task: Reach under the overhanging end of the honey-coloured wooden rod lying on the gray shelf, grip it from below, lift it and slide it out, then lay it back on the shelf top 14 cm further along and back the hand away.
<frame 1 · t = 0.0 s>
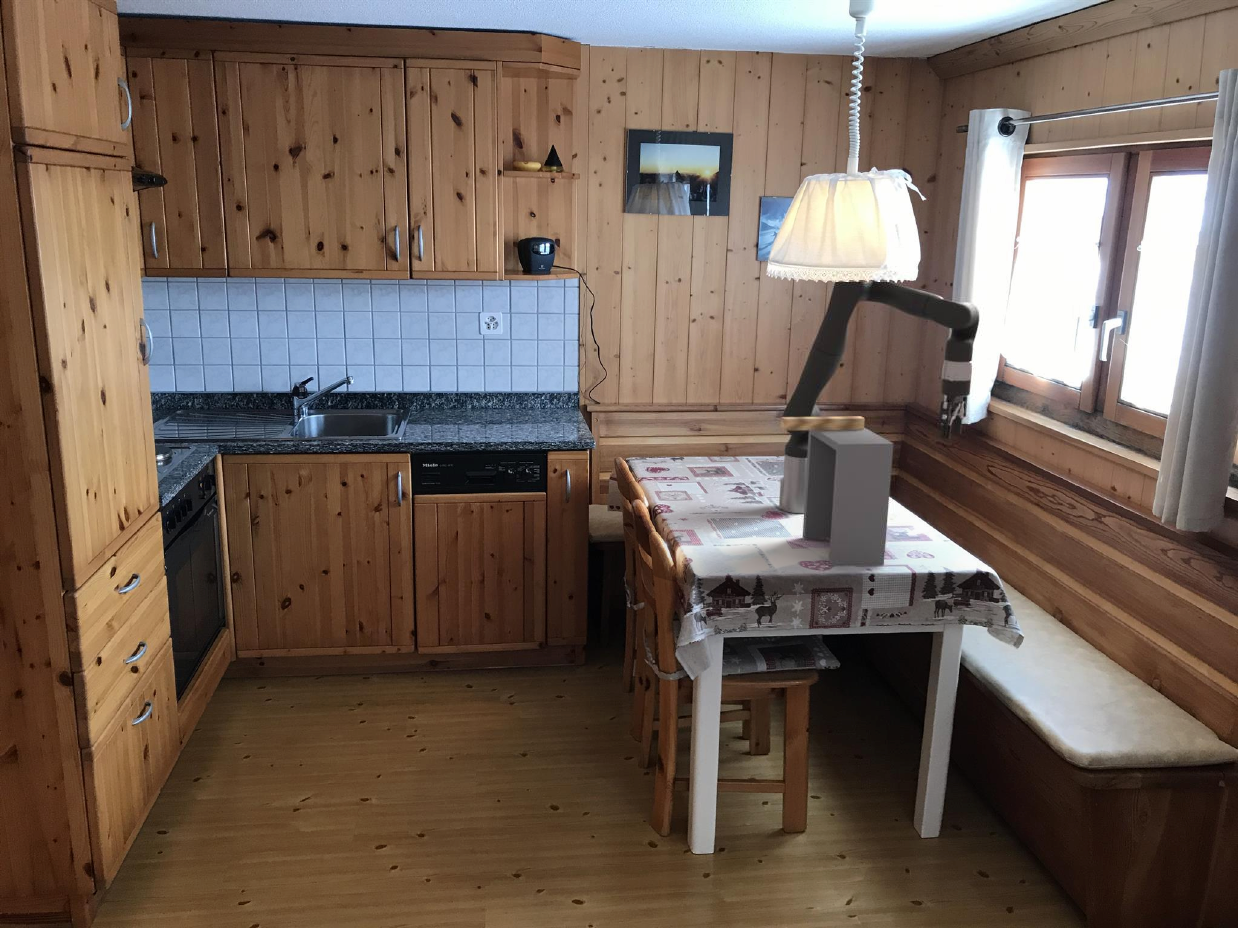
hand: (951, 436, 275), 29 cm above the table, tool pointing down, fingers open, 8 cm apart
wooden rod: (822, 428, 269), point 32 cm above the table, touching gray shelf
gray shelf: (841, 550, 270), on the table
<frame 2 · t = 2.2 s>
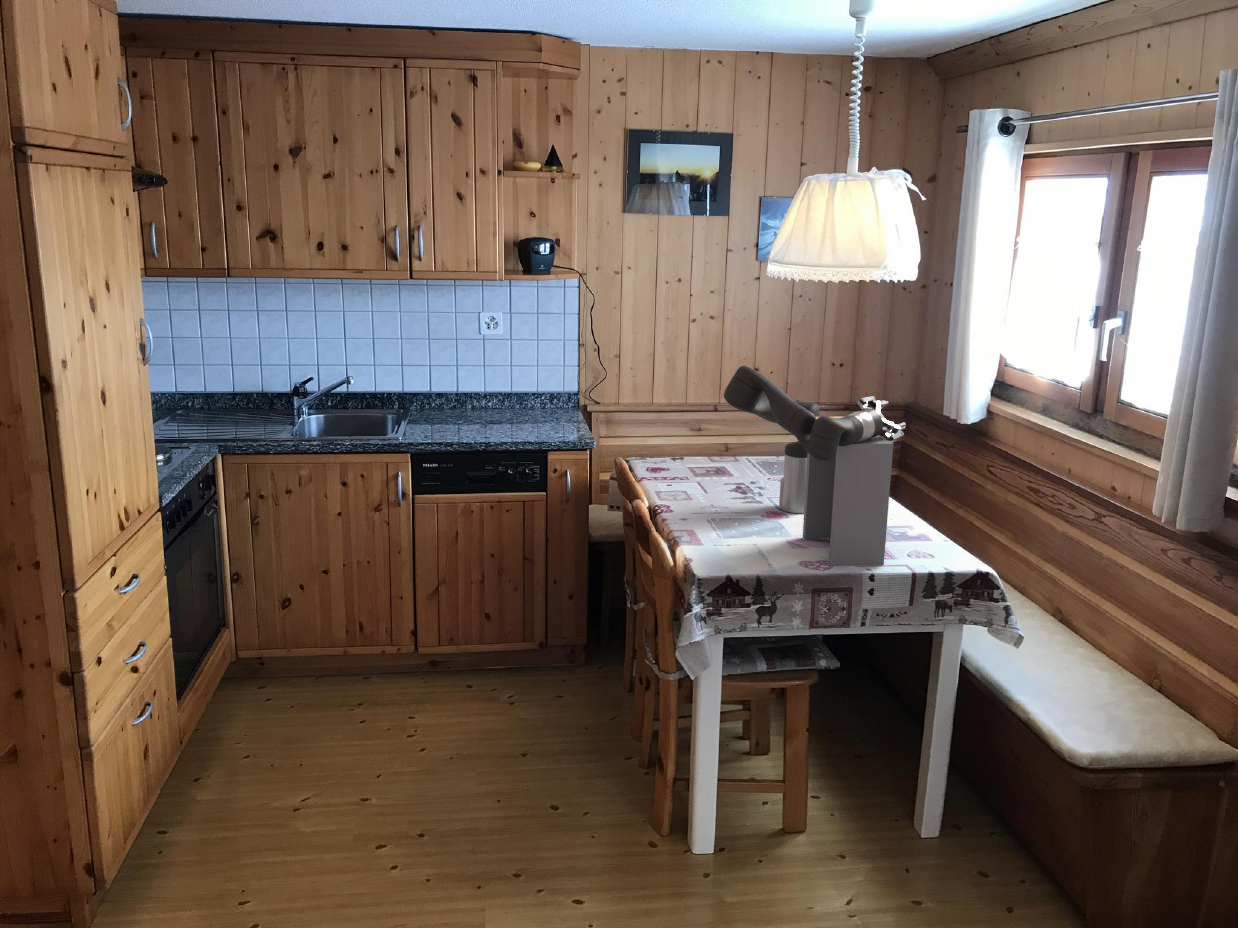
hand: (894, 414, 265), 37 cm above the table, tool horizontal, fingers open, 6 cm apart
nothing on the table moved.
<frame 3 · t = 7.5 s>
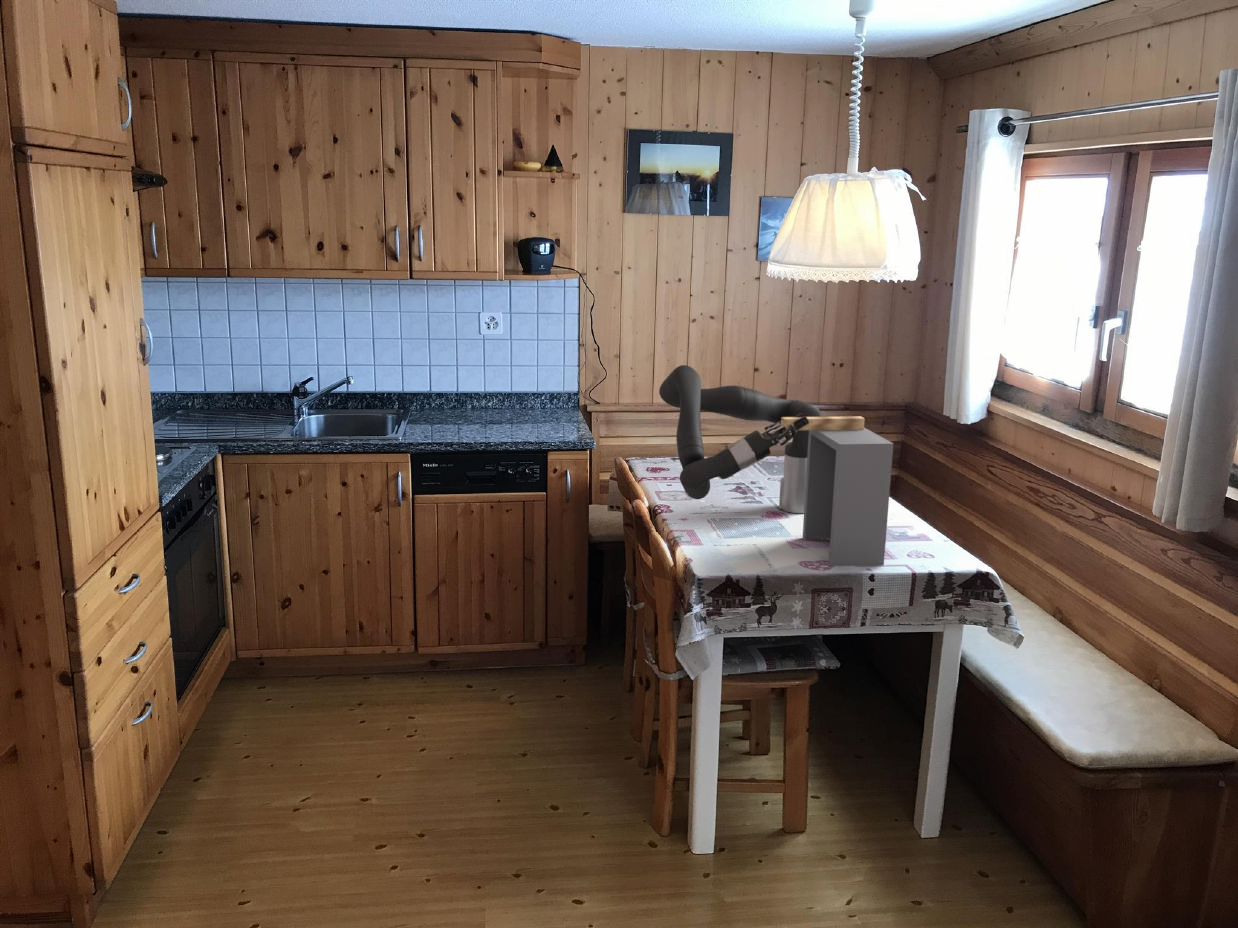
hand: (804, 418, 268), 35 cm above the table, tool pointing upward, fingers closed on wooden rod, 3 cm apart
wooden rod: (822, 428, 269), point 32 cm above the table, touching gray shelf, gripper
everything else where it was.
when the fingers open (36 cm above the table, at t = 18.9 s): wooden rod stays where it is, resting on gray shelf.
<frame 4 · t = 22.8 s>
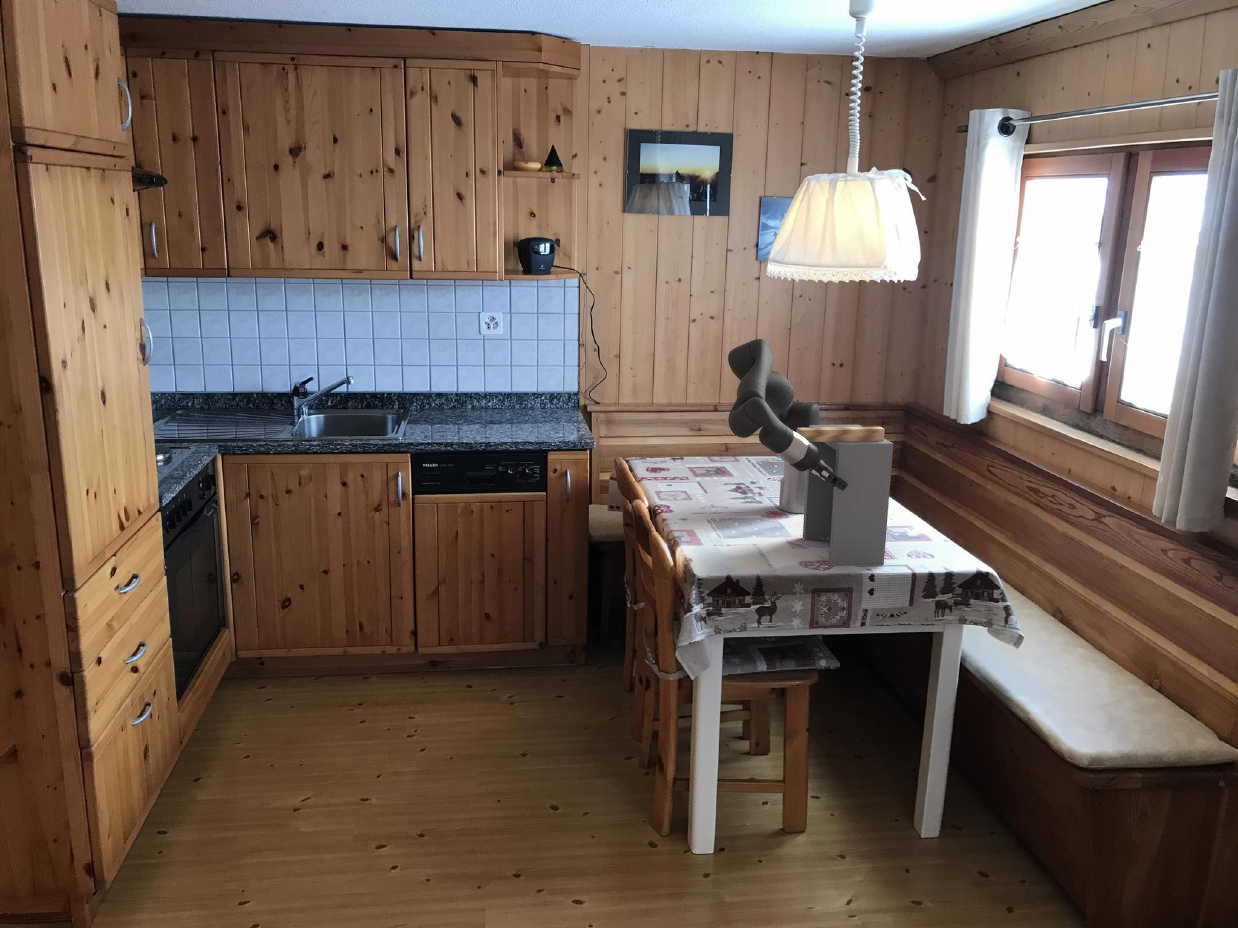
hand: (837, 479, 257), 22 cm above the table, tool tilted 55°, fingers open, 8 cm apart
wooden rod: (840, 439, 255), point 32 cm above the table, touching gray shelf
everything else where it was.
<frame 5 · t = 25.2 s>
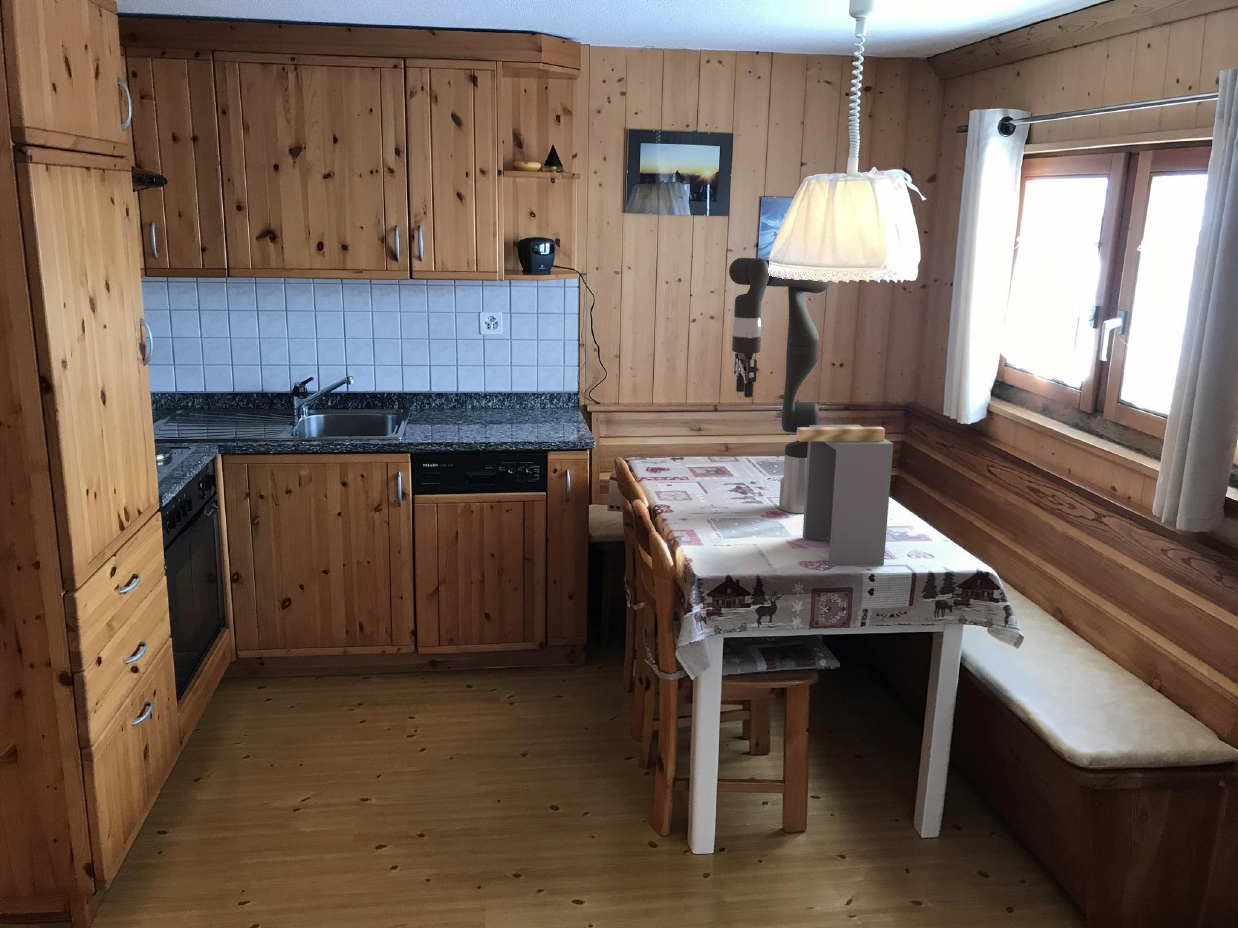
hand: (744, 394, 272), 40 cm above the table, tool pointing down, fingers open, 8 cm apart
nothing on the table moved.
at the end: wooden rod inside the target area on the gray shelf (0.2 cm from its centre), point 32.0 cm above the gray shelf's base; the gripper is holding nothing; wooden rod tilted 0° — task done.
